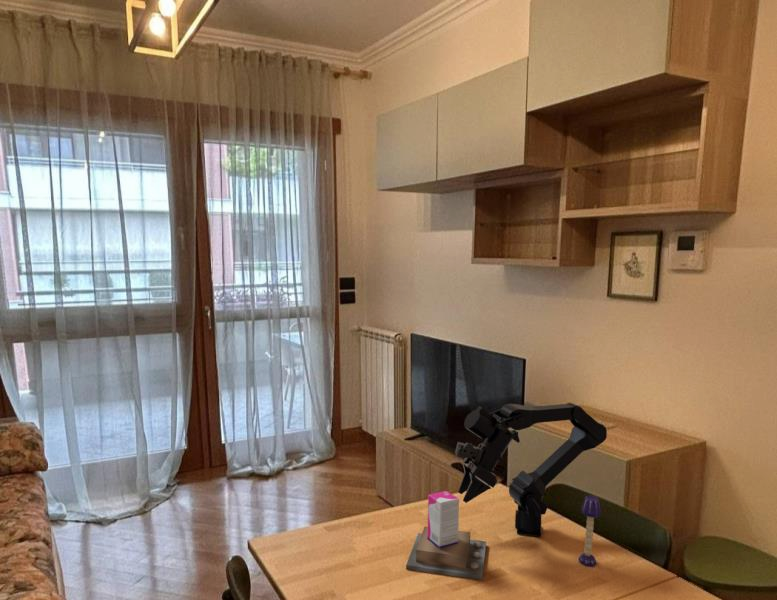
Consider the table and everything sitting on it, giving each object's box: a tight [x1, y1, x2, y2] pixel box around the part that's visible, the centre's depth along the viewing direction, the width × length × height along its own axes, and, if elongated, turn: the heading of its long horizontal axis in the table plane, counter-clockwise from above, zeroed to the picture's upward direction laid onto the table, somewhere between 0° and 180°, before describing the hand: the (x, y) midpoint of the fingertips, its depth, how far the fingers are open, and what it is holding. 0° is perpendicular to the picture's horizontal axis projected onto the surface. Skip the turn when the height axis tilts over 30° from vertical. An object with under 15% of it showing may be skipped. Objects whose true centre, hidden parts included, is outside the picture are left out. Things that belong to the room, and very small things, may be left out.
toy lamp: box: [577, 494, 602, 568], centre depth 132 cm, size 5×5×17 cm
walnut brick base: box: [405, 526, 487, 581], centre depth 134 cm, size 18×16×4 cm
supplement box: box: [427, 490, 460, 549], centre depth 134 cm, size 6×6×12 cm
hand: (462, 497), depth 142 cm, fingers open, 9 cm apart
